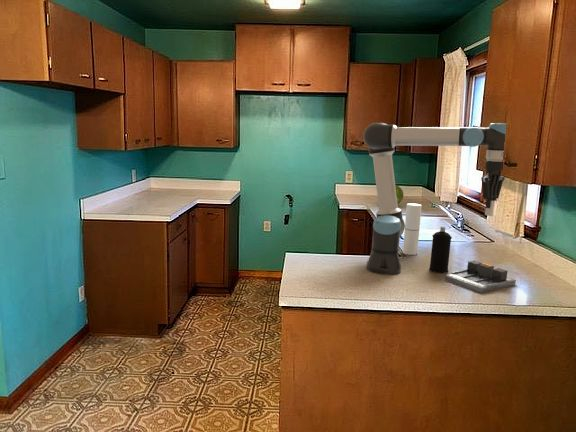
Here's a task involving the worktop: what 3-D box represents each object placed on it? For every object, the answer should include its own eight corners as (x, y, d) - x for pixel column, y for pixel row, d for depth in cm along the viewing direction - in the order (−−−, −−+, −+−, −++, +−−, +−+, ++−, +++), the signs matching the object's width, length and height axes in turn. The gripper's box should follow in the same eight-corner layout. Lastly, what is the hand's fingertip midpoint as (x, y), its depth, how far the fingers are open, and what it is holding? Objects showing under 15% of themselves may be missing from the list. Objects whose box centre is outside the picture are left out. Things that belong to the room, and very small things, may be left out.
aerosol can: (438, 274, 205) (443, 229, 201) (425, 268, 212) (429, 225, 208) (452, 272, 209) (456, 228, 205) (438, 266, 216) (442, 224, 212)
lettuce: (386, 216, 369) (373, 199, 369) (392, 206, 389) (379, 191, 389) (403, 204, 360) (389, 187, 360) (408, 195, 380) (395, 179, 380)
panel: (481, 293, 183) (483, 277, 182) (444, 279, 198) (445, 264, 197) (515, 284, 194) (517, 269, 193) (477, 272, 209) (479, 258, 208)
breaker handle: (486, 277, 195) (488, 266, 194) (478, 275, 198) (479, 263, 197) (492, 276, 197) (494, 265, 196) (484, 273, 200) (485, 262, 199)
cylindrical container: (401, 253, 236) (405, 204, 231) (403, 250, 242) (407, 202, 238) (416, 255, 233) (420, 206, 229) (418, 252, 240) (422, 204, 235)
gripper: (493, 161, 191) (486, 218, 196) (512, 161, 198) (505, 215, 203) (477, 159, 198) (471, 214, 202) (496, 159, 204) (490, 212, 209)
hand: (488, 215), depth 202 cm, fingers closed
